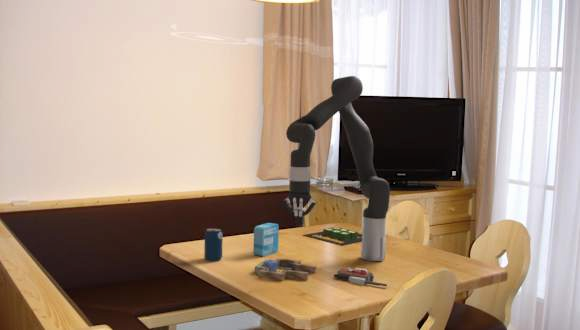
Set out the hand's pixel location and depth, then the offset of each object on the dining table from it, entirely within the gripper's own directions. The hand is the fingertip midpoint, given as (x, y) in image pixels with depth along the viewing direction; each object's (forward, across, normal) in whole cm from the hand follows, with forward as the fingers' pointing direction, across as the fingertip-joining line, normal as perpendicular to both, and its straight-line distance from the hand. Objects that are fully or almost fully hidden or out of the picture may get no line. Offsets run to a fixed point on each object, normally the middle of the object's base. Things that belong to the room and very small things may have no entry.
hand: (299, 226), depth 216 cm
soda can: (+17, +36, -4) cm, 41 cm away
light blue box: (+18, +21, -22) cm, 35 cm away
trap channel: (+18, +4, +2) cm, 18 cm away
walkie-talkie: (+19, -24, -1) cm, 30 cm away
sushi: (+19, +1, -66) cm, 69 cm away
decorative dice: (+18, +10, +2) cm, 21 cm away
